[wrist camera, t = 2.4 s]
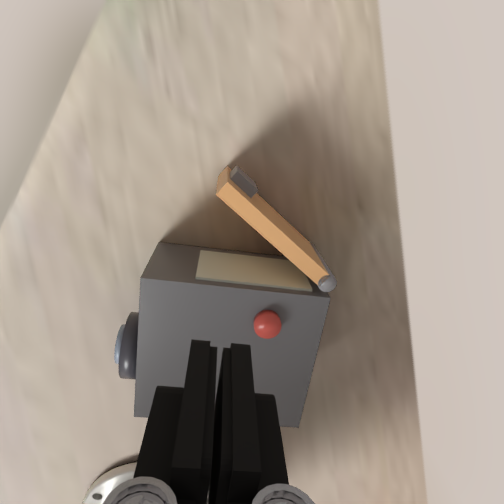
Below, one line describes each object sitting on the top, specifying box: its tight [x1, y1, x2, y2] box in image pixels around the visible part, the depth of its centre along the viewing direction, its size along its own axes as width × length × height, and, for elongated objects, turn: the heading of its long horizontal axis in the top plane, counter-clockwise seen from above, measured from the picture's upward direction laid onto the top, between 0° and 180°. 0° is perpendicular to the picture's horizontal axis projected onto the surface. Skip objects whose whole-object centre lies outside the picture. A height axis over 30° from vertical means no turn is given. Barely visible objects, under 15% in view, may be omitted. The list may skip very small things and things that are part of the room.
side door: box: [216, 165, 337, 292], centre depth 23 cm, size 2×9×6 cm, turn 47°
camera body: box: [115, 242, 330, 428], centre depth 26 cm, size 10×13×7 cm
